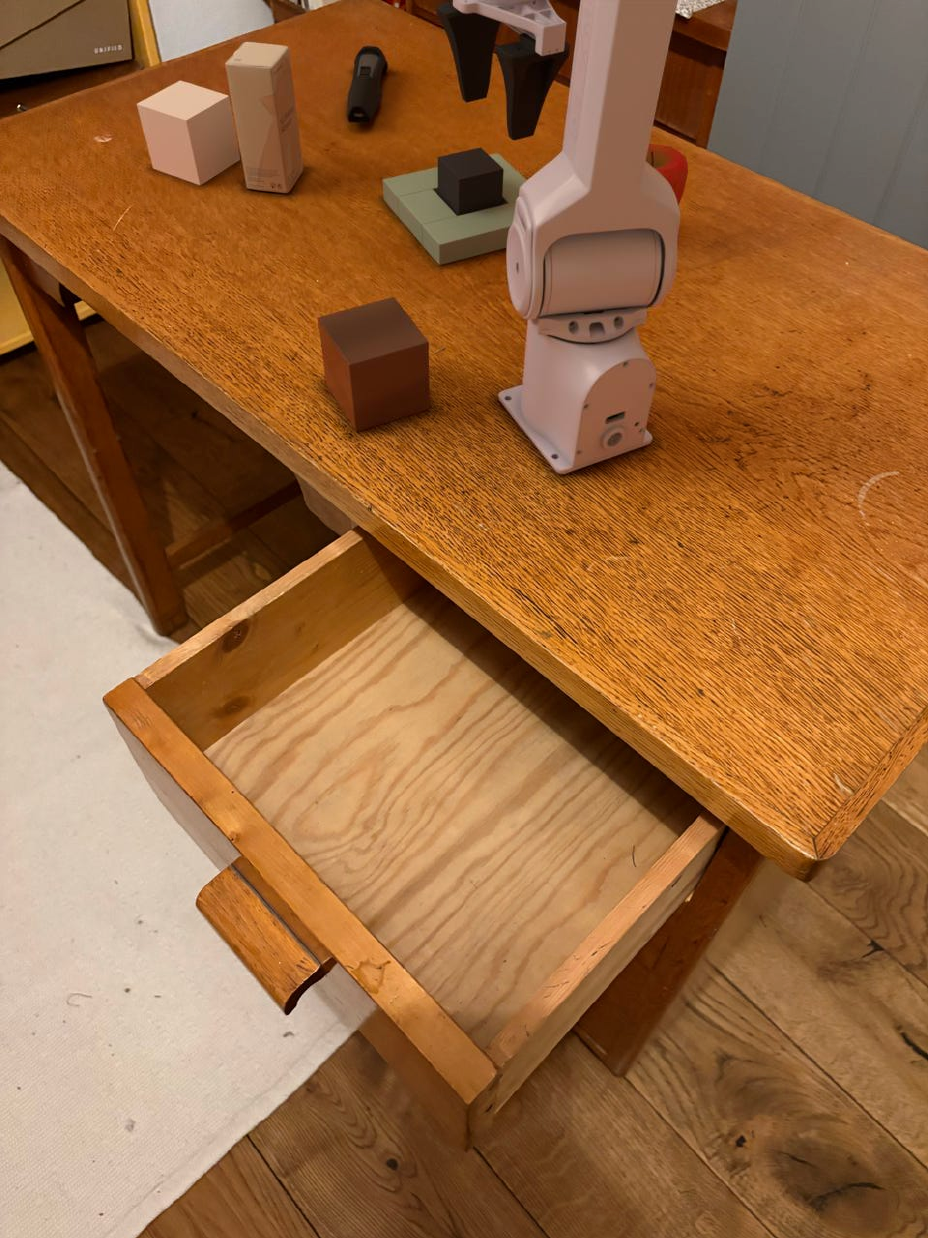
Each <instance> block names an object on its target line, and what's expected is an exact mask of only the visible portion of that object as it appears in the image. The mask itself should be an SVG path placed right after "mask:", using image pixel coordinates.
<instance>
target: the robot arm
mask: <svg viewBox="0 0 928 1238" xmlns="http://www.w3.org/2000/svg"><path fill="white" fill-rule="evenodd" d="M678 1H679V0H580V1H579V8H578V9H579V11H578V17H577V26H576V27H577V28H576V35H575V42H574V52H573V58H572V67H571V76H570V84H569V92H568V101H567V109H566V117H565V125H564V133H563V142H562V149H561V151H560V153H558V154H557V155H556V156H555V157H554V158H553V159H552V160H550V161H549V162H548V163H546V164H544V166H543V167H541V168H540V169H539V170H537V172H535V173H533V175H532V176H530V177H529V178H528V179H526V180H527V181H526V182H525V183H524V184H522V186H521V187H520V190H519V197H518V198H517V200H516V207H515V213H514V218H513V223H512V225H511V227H510V229H509V232H508V238H507V248H505V249H506V253H505V254H506V255H505V256H506V276H507V284H508V291H509V296H510V300H511V303H512V306H513V307H514V309H515V310H516V312H518V314H519V315H520V316H521V317H522V318H523V320H525V321H526V320H527V325H526V337H525V347H524V348H525V349H524V361H523V370H522V371H523V372H522V373H523V374H522V384H520V385H519V384H518V385H517V386H513V387H510V388H506V389H504V390H501V391H499V392H498V393H497V394H498V395H497V398H498V401H499V402H500V403H501V405H502V406H503V407H504V409H505V410H506V411H507V412H508V413H509V415H510V416H511V417H512V418H513V420H514V421H515V422H516V424H517V425H518V426H519V427H520V429H521V430H522V431H523V432H524V434H525V435H526V436H527V437H528V439H529V440H530V441H531V442H532V444H533V445H534V446H535V448H537V450H538V451H539V453H540V454H541V455H542V456H543V457H544V458H545V460H546V461H547V462H548V464H549V465H550V467H552V469H553V470H554V471H555V472H556V473H557V474H559V475H565V474H568V473H571V472H574V471H577V470H579V469H583V468H585V467H588V466H591V465H594V464H596V463H599V462H603V461H605V460H608V459H611V458H613V457H616V456H619V455H622V454H626V453H627V452H631V451H633V450H636V449H639V448H642V447H644V446H645V447H646V446H649V445H650V444H651V443H652V442H653V435H652V433H650V431H649V430H648V429H647V426H648V421H649V418H650V412H651V407H652V404H653V399H654V395H655V391H656V388H657V387H656V386H657V380H658V373H657V372H658V371H657V369H656V367H655V364H654V363H653V361H652V359H651V358H650V357H649V355H648V354H647V353H646V350H645V349H644V347H643V345H642V343H641V340H640V335H639V332H638V326H640V325H645V324H646V321H647V316H648V311H649V308H657V307H660V306H661V305H662V304H663V302H664V301H665V300H666V298H667V296H668V295H669V293H670V292H671V290H672V288H673V285H674V282H675V278H676V273H677V266H678V237H679V231H680V230H679V229H680V223H681V220H682V219H681V218H682V215H681V211H680V207H679V205H678V203H677V199H676V196H675V194H674V192H673V189H672V187H671V186H670V184H669V183H668V181H667V180H666V179H665V178H664V177H663V176H662V175H661V174H660V173H659V172H658V171H657V170H656V169H655V168H653V167H652V166H651V165H650V164H649V163H647V162H646V156H647V151H648V146H649V144H650V141H651V136H652V132H653V126H654V122H655V115H656V111H657V106H658V101H659V95H660V91H661V86H662V81H663V77H664V71H665V66H666V62H667V56H668V51H669V48H670V47H669V46H670V41H671V37H672V32H673V28H674V27H673V26H674V22H675V18H676V11H677V7H678ZM436 16H437V17H438V19H439V21H440V23H441V24H442V25H441V26H442V27H443V29H444V32H445V35H446V37H447V39H448V43H449V47H450V49H451V53H452V56H453V60H454V65H455V70H456V75H457V80H458V85H459V90H460V94H461V98H462V101H463V102H465V104H466V103H471V102H475V101H479V100H484V99H487V97H488V94H489V89H490V83H491V77H492V66H493V58H494V52H495V55H496V57H497V60H498V63H499V66H500V69H501V70H500V71H501V73H502V77H503V84H504V90H505V105H506V106H505V107H506V108H505V109H506V128H507V134H508V137H509V139H511V140H512V141H518V140H523V139H526V138H530V137H533V136H534V135H535V132H536V129H537V126H538V123H539V120H540V117H541V114H542V111H543V108H544V104H545V101H546V99H547V96H548V94H549V92H550V89H551V87H552V85H553V83H554V81H555V79H556V77H557V76H558V74H559V73H560V70H561V69H562V67H563V65H564V64H565V63H566V62H567V61H568V59H569V57H570V54H571V45H570V43H568V42H567V41H566V34H567V33H566V32H567V25H568V23H567V22H566V21H565V20H564V19H562V18H561V17H560V16H559V15H558V14H557V12H556V10H555V9H554V7H553V6H552V4H551V3H550V0H449V1H443V2H440V3H438V5H436ZM501 23H502V24H504V25H505V26H507V27H508V28H510V29H511V30H513V31H514V32H515V33H517V34H518V35H519V36H518V41H513V42H509V43H502V44H499V45H498V44H497V45H496V40H497V36H498V32H499V29H500V25H501Z"/></svg>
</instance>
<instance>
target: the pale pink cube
mask: <svg viewBox="0 0 928 1238" xmlns="http://www.w3.org/2000/svg"><path fill="white" fill-rule="evenodd" d="M136 107H137V111H138V115H139V120H140V123H141V127H142V131H143V135H144V139H145V143H146V146H147V151H148V155H149V158H150V162H151V166H152V169H153V170H156V171H158V172H161V173H164V174H167V175H170V176H173V177H175V178H178V179H181V180H183V181H186V182H189V183H191V184H194V185H197V186H202V185H203V184H205V183H207V182H208V181H209V180H211V179H213V178H214V177H216V176H217V175H219V174H221V173H223V172H224V171H225V170H226V169H229V167H232V166H233V165H235V163H238V162H239V161H241V155H240V149H239V143H238V138H237V132H236V126H235V121H234V115H233V109H232V105H231V98H230V95H228V94H225V93H221V92H218V91H216V90H213V89H209V88H206V87H202V86H200V85H196V84H194V83H190V82H187V81H183V80H181V79H179V80H178V81H176V82H174V83H173V84H171V85H169V86H167V87H165V88H164V89H162V90H160V91H158V92H156V93H154V94H152V95H151V96H149V97H147V98H145V99H143V100H141V101H139V102H137V103H136Z"/></svg>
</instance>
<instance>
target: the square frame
mask: <svg viewBox="0 0 928 1238" xmlns="http://www.w3.org/2000/svg"><path fill="white" fill-rule="evenodd" d="M489 155H490V156H491V157H492V158H493V159H494V160H495V161H496V162H497V163H498V164H499V165H500V166H501V167H502V168H503V169H504V174H503V193H502V205H501V206H497V207H493V208H489V209H485V210H481V211H477V212H473V213H469V214H464V215H460V216H457V215H456V214H455V213H454V212H453V211H452V210H451V209H450V208H449V207H448V206H447V204H446V203H445V202H444V201H443V200H442V199H441V198H440V197H439V196H438V166H435V167H431V168H426V169H422V170H418V171H417V170H416V171H413V172H409V173H405V174H400V175H396V176H392V177H387V178H382V195H383V197H382V198H383V201H384V202H385V204H387V206H388V207H389V208H390V210H391V211H393V213H394V214H395V215H396V217H398V219H399V220H400V221H401V222H402V224H404V226H405V227H406V228H407V229H408V231H409V232H410V233H411V234H412V235H413V236H414V238H416V240H417V241H418V242H419V243H420V244H421V246H422V247H423V248H424V250H425V251H426V252H428V254H429V255H430V256H431V257H432V258H433V260H434V261H435V262H436V263H437V264H438V266H442V265H446V264H450V263H454V262H457V261H461V260H465V259H470V258H472V257H473V258H474V257H477V256H481V255H483V254H487V253H492V252H496V251H500V250H503V249H507V238H508V232H509V229H510V227H511V225H512V223H513V218H514V213H515V207H516V200H517V198H518V197H519V190H520V187H521V186H522V184H524V183H525V182H526V181H527V180H528V179H527V178H525V177H524V176H523V175H522V174H521V172H519V171H518V170H517V169H516V168H515V167H514V166H512V165H511V164H510V163H509V162H508V161H507V160H506V159H505V158H504V157H503V156H502V155H501V154H499V152H496V153H492V154H489Z"/></svg>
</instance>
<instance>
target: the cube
mask: <svg viewBox="0 0 928 1238" xmlns="http://www.w3.org/2000/svg"><path fill="white" fill-rule="evenodd" d="M317 325H318V331H319V340H320V348H321V355H322V364H323V371H324V380H325V385H326V387H327V389H328V390H329V391H330V392H329V393H330V394H331V395H332V396H333V398H334V400H335V401H336V403H337V404H338V406H339V407H340V409H341V411H342V412H343V414H344V415H345V418H346V419H347V420H348V422H349V424H350V425H351V426H352V428H353V430H354V431H355V432H356V433H358V432H361V431H364V430H367V429H371V428H374V427H377V426H380V425H384V424H387V423H390V422H393V421H396V420H400V419H403V418H406V417H409V416H413V415H415V414H418V413H422V412H425V411H429V410H430V409H431V398H430V395H431V394H430V393H431V392H430V342H429V340H428V339H427V337H426V336H425V335H424V334H423V332H422V331H421V330H420V328H418V326H417V325H416V323H415V322H414V321H413V319H412V318H411V317H410V315H409V314H408V313H407V312H406V310H405V309H404V307H403V306H402V304H400V303H399V301H398V300H397V298H396V297H395V296H391V297H388V298H383V299H381V300H377V301H373V302H369V303H365V304H362V305H357V306H355V307H350V308H347V309H344V310H343V309H342V310H340V311H336V312H333V313H329V314H325V315H321V316H317Z"/></svg>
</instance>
